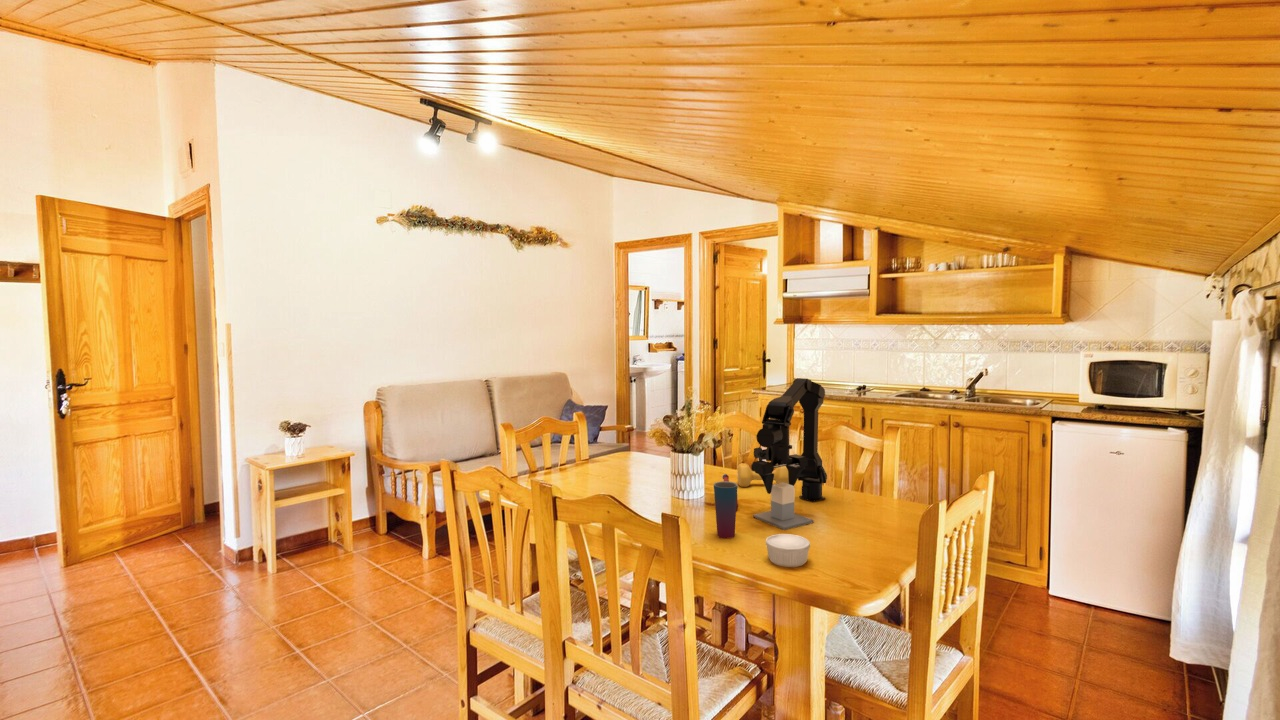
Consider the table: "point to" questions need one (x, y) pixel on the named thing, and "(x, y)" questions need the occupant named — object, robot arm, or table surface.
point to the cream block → (783, 493)
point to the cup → (725, 508)
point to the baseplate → (785, 524)
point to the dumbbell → (747, 475)
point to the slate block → (782, 511)
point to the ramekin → (787, 549)
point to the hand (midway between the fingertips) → (780, 491)
